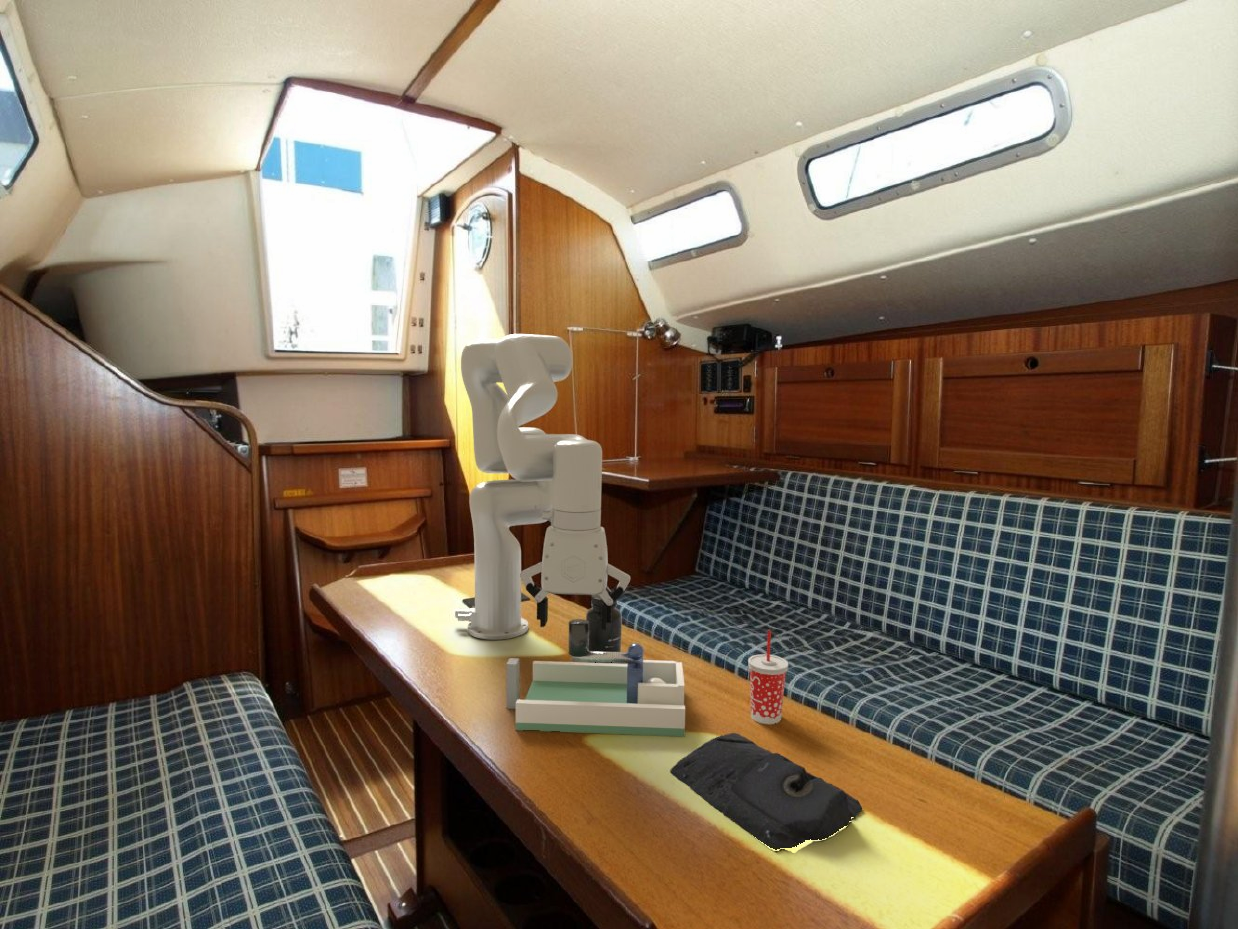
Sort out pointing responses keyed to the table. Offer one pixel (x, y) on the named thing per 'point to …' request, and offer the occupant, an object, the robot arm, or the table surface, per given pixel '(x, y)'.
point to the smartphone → (471, 601)
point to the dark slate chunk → (765, 792)
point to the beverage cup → (767, 686)
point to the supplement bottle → (599, 637)
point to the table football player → (607, 656)
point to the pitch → (598, 698)
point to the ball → (656, 681)
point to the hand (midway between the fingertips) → (574, 625)
